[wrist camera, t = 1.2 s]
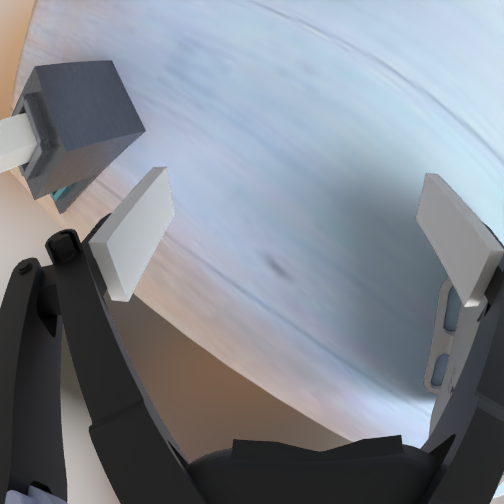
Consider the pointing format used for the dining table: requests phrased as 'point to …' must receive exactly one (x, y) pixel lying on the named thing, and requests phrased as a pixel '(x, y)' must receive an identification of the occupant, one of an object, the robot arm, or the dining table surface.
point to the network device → (450, 350)
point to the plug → (16, 142)
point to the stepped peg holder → (75, 126)
